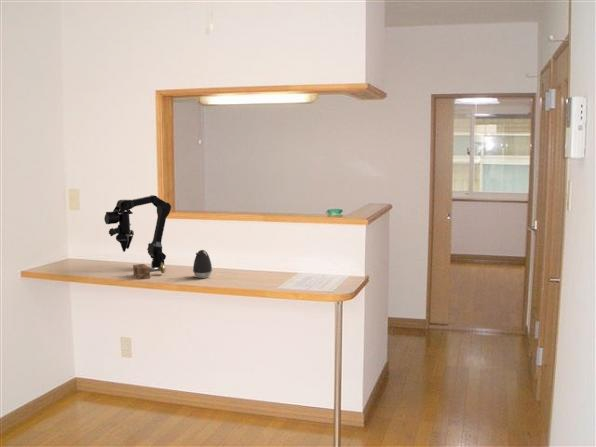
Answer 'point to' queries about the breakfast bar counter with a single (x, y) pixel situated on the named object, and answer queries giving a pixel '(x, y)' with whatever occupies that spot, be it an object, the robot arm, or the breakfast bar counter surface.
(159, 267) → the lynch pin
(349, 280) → the breakfast bar counter surface
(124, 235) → the robot arm
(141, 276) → the block
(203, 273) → the black egg-shaped device
